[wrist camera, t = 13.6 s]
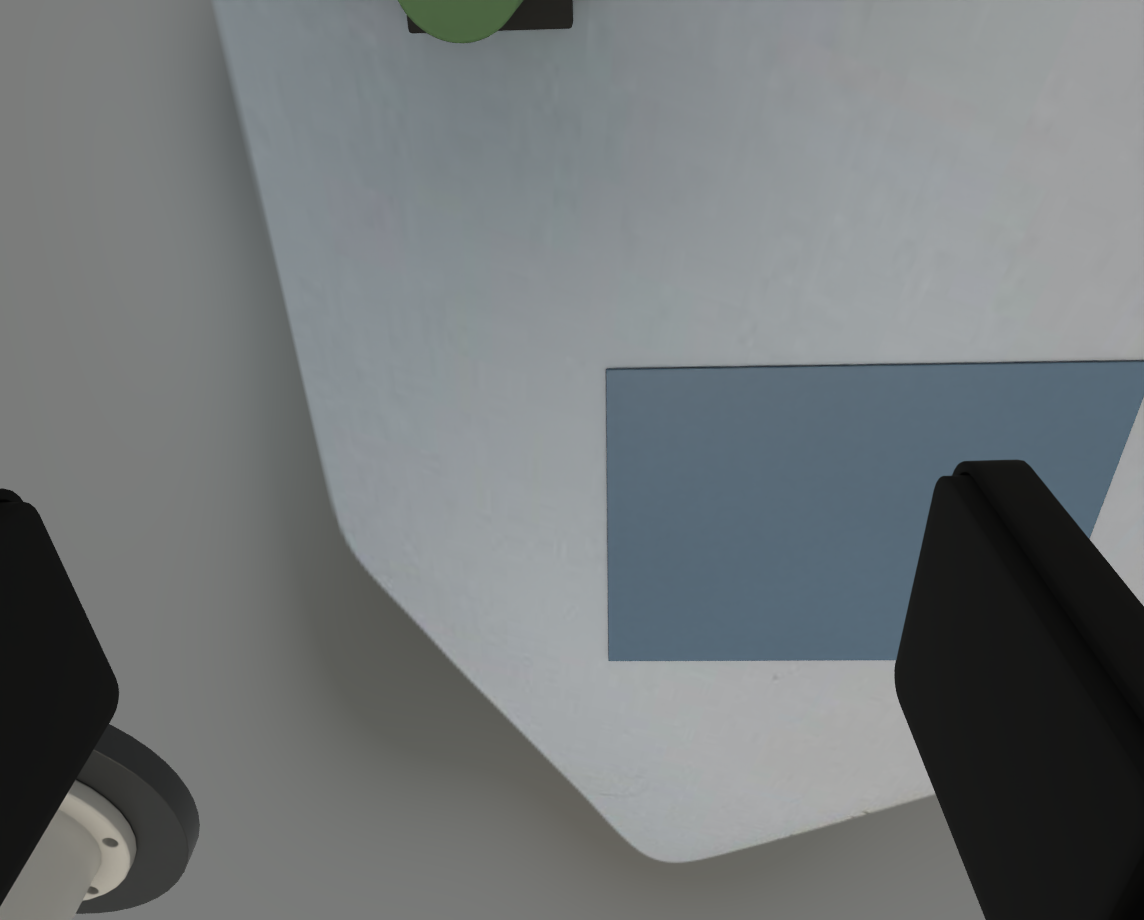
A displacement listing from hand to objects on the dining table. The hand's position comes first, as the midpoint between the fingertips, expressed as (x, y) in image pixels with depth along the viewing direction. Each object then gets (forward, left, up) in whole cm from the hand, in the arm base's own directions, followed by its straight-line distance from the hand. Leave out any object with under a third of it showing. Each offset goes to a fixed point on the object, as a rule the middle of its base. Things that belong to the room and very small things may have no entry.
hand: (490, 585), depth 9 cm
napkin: (+12, -17, -23) cm, 31 cm away
